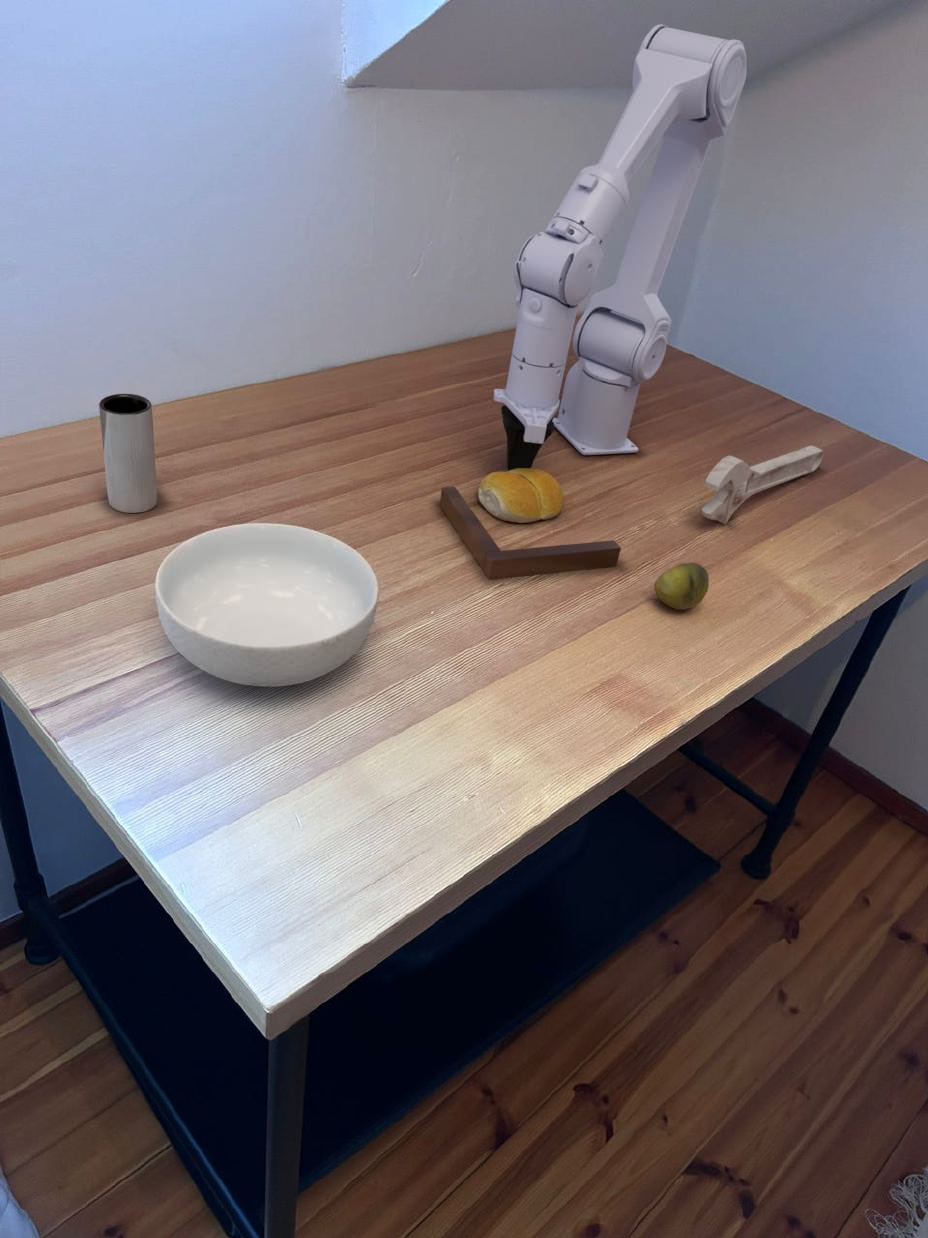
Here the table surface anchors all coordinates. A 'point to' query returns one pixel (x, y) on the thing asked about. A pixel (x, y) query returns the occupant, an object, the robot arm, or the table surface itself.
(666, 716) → the table surface
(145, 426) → the grey cylindrical vase
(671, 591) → the lime
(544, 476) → the bread roll
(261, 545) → the cereal bowl
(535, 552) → the corner stop
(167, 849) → the table surface
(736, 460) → the wrench
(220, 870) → the table surface
